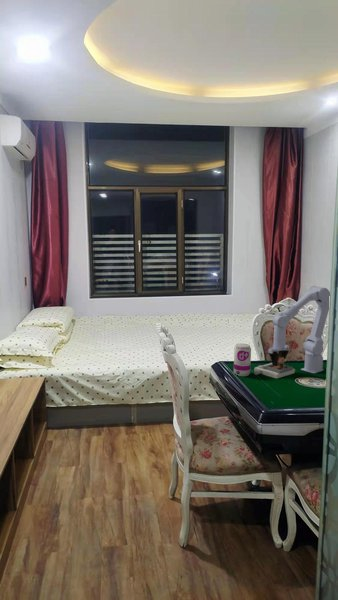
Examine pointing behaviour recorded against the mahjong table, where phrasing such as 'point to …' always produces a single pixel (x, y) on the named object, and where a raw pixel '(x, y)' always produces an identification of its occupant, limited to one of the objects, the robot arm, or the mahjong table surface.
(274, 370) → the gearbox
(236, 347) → the supplement can
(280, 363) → the spout can
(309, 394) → the mahjong table surface
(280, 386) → the mahjong table surface
